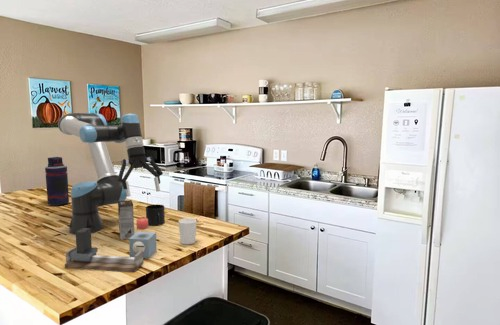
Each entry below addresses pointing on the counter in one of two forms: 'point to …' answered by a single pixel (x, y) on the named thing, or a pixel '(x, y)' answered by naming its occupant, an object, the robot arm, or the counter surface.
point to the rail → (106, 262)
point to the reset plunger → (142, 223)
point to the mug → (155, 215)
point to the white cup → (187, 230)
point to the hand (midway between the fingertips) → (144, 193)
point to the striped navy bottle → (56, 182)
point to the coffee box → (126, 219)
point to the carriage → (83, 246)
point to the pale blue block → (143, 244)
